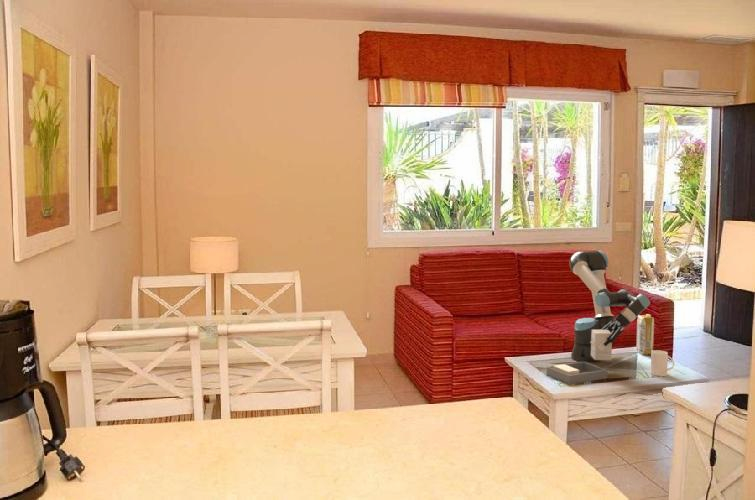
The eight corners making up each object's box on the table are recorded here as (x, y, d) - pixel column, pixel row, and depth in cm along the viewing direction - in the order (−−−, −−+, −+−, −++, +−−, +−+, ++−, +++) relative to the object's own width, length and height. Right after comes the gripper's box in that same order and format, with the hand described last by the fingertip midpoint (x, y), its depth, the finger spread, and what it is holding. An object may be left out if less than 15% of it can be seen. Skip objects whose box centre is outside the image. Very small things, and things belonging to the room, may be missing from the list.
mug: (676, 375, 337) (677, 353, 336) (669, 378, 331) (670, 356, 330) (654, 370, 346) (655, 349, 345) (647, 373, 340) (648, 352, 339)
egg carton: (553, 375, 335) (553, 365, 335) (563, 374, 338) (564, 364, 337) (568, 382, 324) (568, 371, 324) (579, 380, 327) (579, 370, 326)
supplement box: (607, 355, 348) (608, 329, 346) (611, 360, 339) (612, 333, 337) (590, 355, 349) (591, 329, 347) (594, 360, 340) (595, 333, 338)
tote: (546, 375, 337) (546, 366, 337) (583, 370, 347) (583, 361, 346) (568, 385, 321) (569, 375, 320) (607, 379, 330) (607, 370, 330)
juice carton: (654, 355, 377) (655, 315, 374) (641, 355, 377) (642, 315, 375) (647, 351, 386) (649, 312, 384) (634, 351, 386) (636, 312, 384)
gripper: (639, 327, 331) (608, 357, 333) (621, 317, 353) (592, 345, 355) (629, 317, 331) (599, 347, 332) (612, 308, 353) (583, 336, 354)
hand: (595, 346), depth 343 cm, fingers closed on supplement box, 9 cm apart
